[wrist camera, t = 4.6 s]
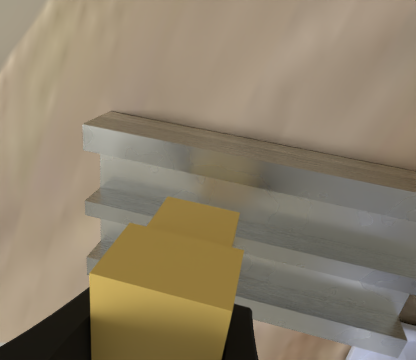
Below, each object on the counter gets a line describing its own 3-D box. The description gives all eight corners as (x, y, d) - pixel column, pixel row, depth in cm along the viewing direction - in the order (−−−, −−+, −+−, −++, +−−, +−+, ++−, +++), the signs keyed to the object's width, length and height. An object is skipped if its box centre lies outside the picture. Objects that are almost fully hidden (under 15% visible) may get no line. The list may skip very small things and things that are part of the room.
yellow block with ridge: (252, 207, 12) (232, 311, 8) (229, 310, 15) (203, 436, 10) (158, 186, 13) (89, 273, 8) (150, 289, 15) (92, 400, 11)
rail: (454, 179, 15) (485, 206, 12) (384, 317, 18) (397, 358, 16) (109, 111, 17) (82, 124, 14) (109, 247, 20) (87, 274, 18)
